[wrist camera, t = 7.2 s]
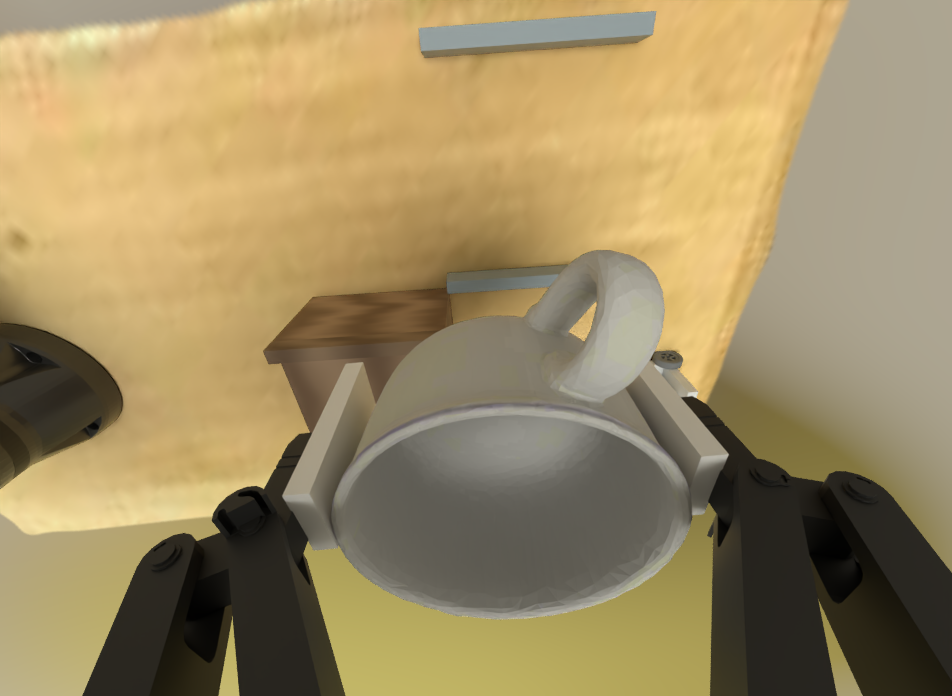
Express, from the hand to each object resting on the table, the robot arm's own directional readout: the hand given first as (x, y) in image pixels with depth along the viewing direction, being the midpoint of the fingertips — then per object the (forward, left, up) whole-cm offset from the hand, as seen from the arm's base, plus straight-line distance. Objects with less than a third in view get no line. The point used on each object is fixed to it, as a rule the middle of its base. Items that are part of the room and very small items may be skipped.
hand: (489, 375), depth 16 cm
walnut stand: (-10, -14, -21) cm, 27 cm away
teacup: (+1, 0, -1) cm, 1 cm away
